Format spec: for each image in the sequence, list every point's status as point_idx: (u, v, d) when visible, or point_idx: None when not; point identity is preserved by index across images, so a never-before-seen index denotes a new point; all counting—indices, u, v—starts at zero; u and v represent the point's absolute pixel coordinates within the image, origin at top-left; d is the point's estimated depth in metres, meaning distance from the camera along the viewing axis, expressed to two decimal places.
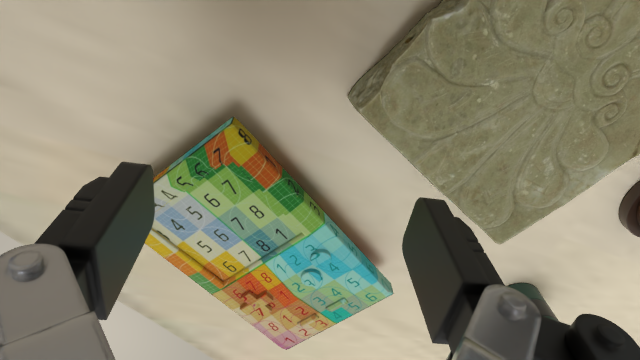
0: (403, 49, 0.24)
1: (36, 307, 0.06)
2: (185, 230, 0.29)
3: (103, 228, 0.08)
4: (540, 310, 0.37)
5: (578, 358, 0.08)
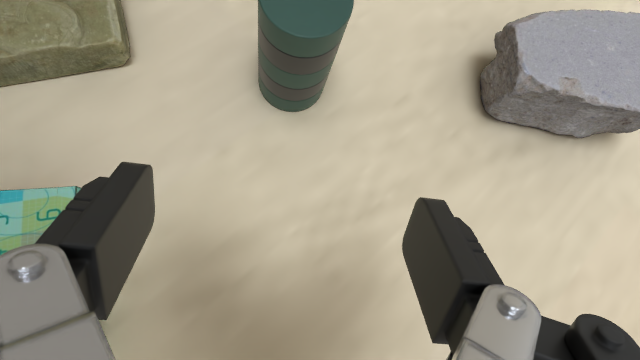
0: None
1: (36, 307, 0.06)
2: None
3: (103, 228, 0.08)
4: None
5: (578, 358, 0.08)
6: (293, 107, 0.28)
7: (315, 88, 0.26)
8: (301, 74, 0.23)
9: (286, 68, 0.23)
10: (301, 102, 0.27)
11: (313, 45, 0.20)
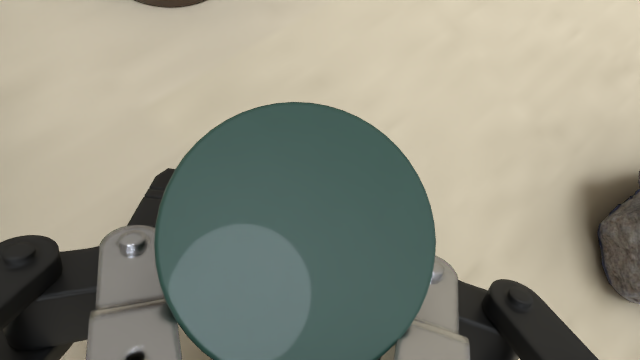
0: None
1: (131, 282, 0.07)
2: None
3: None
4: None
5: (490, 318, 0.08)
6: None
7: None
8: None
9: None
10: None
11: None
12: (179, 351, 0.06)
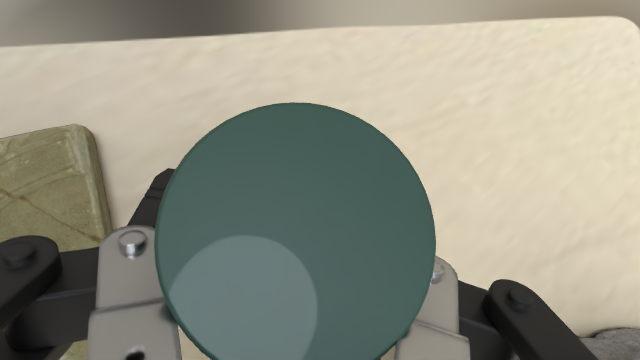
0: None
1: (131, 282, 0.07)
2: None
3: None
4: None
5: (489, 318, 0.08)
6: None
7: None
8: None
9: None
10: None
11: None
12: (179, 351, 0.06)
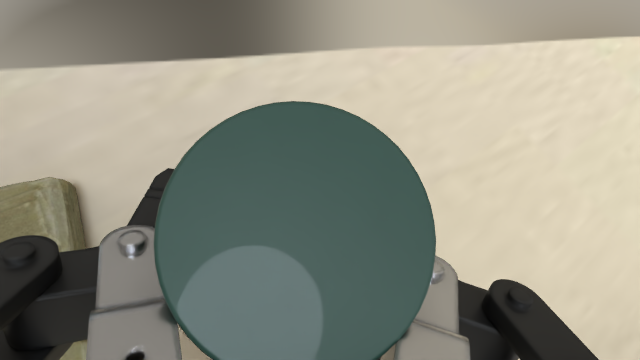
0: None
1: (131, 282, 0.07)
2: None
3: None
4: None
5: (490, 318, 0.08)
6: None
7: None
8: None
9: None
10: None
11: None
12: (179, 351, 0.06)
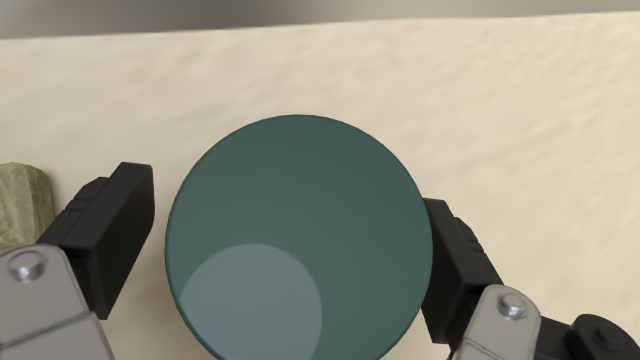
0: None
1: (36, 307, 0.06)
2: None
3: (103, 228, 0.08)
4: None
5: (578, 358, 0.08)
6: None
7: None
8: None
9: None
10: None
11: None
12: None
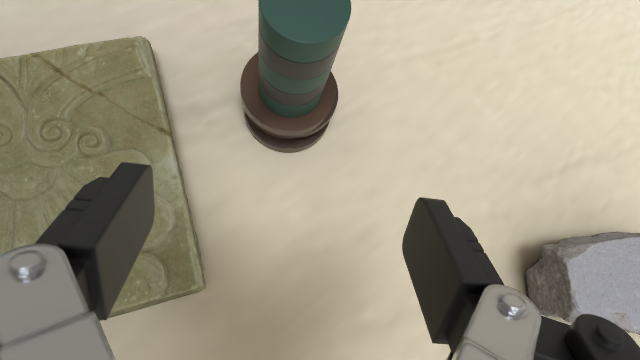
0: None
1: (36, 307, 0.06)
2: None
3: (103, 228, 0.08)
4: None
5: (578, 358, 0.08)
6: (293, 112, 0.28)
7: (314, 93, 0.26)
8: (301, 79, 0.24)
9: (286, 73, 0.23)
10: (300, 107, 0.28)
11: (313, 50, 0.21)
12: None
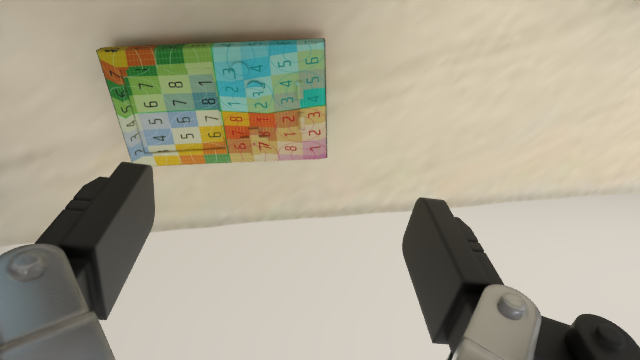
0: None
1: (36, 307, 0.06)
2: (166, 136, 0.39)
3: (103, 228, 0.08)
4: None
5: (578, 358, 0.08)
6: None
7: None
8: None
9: None
10: None
11: None
12: None
